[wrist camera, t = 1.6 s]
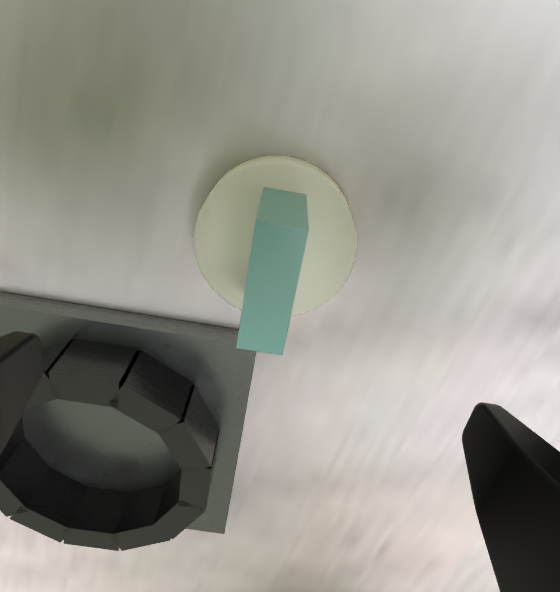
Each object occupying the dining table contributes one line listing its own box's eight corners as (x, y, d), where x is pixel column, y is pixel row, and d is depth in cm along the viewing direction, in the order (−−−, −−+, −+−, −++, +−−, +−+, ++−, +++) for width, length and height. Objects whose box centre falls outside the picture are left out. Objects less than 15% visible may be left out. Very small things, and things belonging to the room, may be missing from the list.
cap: (368, 170, 16) (396, 214, 11) (333, 307, 18) (344, 386, 14) (209, 141, 16) (175, 175, 11) (196, 284, 18) (164, 358, 14)
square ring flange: (258, 333, 19) (252, 381, 16) (226, 516, 25) (217, 576, 22) (-34, 286, 18) (-94, 328, 16) (1, 485, 24) (-38, 542, 21)
